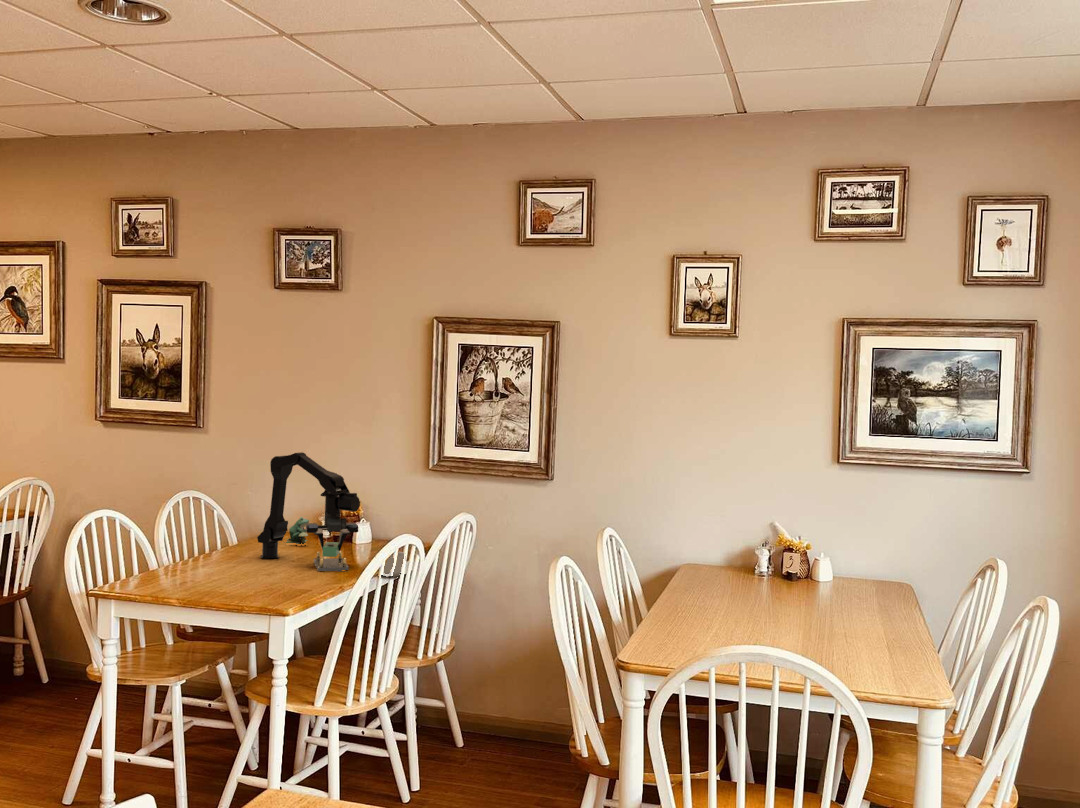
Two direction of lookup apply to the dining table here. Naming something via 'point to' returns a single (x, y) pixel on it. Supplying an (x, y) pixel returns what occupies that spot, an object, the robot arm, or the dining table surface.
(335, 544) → the board
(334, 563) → the chassis
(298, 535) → the frog figurine
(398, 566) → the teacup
